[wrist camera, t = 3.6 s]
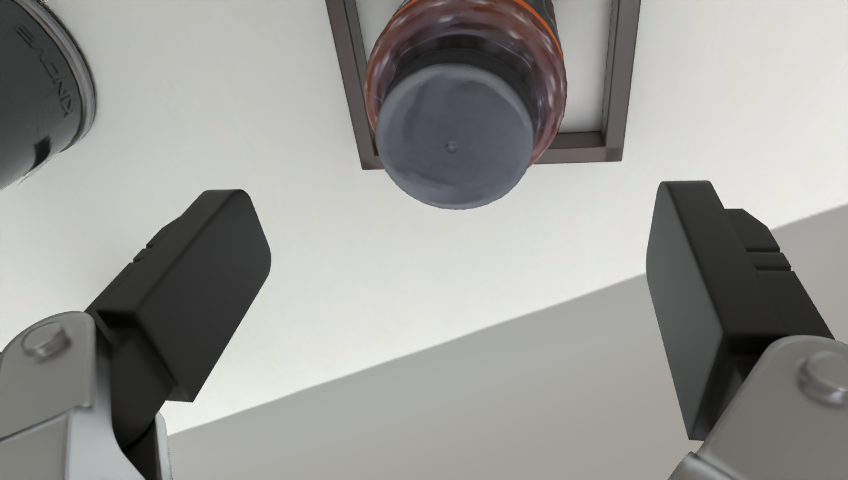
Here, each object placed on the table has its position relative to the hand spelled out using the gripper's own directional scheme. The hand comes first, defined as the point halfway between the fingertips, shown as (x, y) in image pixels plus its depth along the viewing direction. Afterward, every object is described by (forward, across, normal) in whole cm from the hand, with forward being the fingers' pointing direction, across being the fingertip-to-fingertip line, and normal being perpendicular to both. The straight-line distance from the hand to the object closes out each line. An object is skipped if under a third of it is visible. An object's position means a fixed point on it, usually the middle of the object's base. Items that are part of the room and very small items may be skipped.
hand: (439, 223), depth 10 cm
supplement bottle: (+15, 0, 0) cm, 15 cm away
